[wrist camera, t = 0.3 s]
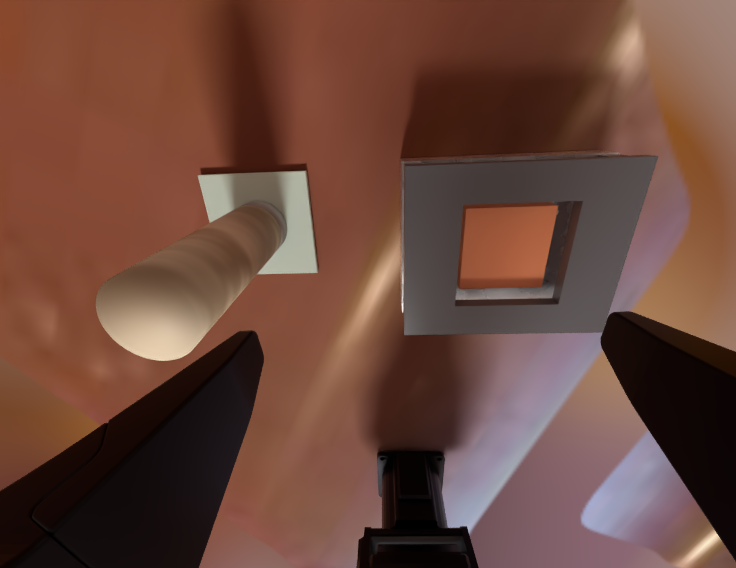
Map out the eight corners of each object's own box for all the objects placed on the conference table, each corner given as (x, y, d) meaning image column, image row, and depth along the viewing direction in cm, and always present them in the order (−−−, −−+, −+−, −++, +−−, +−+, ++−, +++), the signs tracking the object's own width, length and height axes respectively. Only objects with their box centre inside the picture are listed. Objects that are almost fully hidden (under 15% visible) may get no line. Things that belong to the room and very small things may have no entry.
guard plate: (577, 309, 22) (602, 332, 20) (401, 312, 23) (404, 335, 20) (619, 152, 18) (658, 156, 16) (402, 161, 19) (405, 166, 16)
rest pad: (318, 270, 24) (317, 272, 24) (225, 272, 24) (223, 275, 24) (306, 170, 21) (305, 171, 21) (201, 174, 21) (197, 175, 21)
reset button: (528, 274, 22) (541, 287, 20) (453, 276, 22) (459, 288, 20) (542, 198, 20) (558, 205, 18) (459, 201, 20) (466, 208, 18)
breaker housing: (562, 295, 24) (577, 309, 22) (400, 298, 25) (401, 312, 23) (598, 150, 20) (619, 152, 18) (400, 158, 20) (402, 161, 19)
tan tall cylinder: (290, 251, 23) (211, 360, 12) (240, 252, 23) (118, 361, 12) (283, 199, 21) (183, 271, 11) (229, 201, 22) (78, 274, 11)
